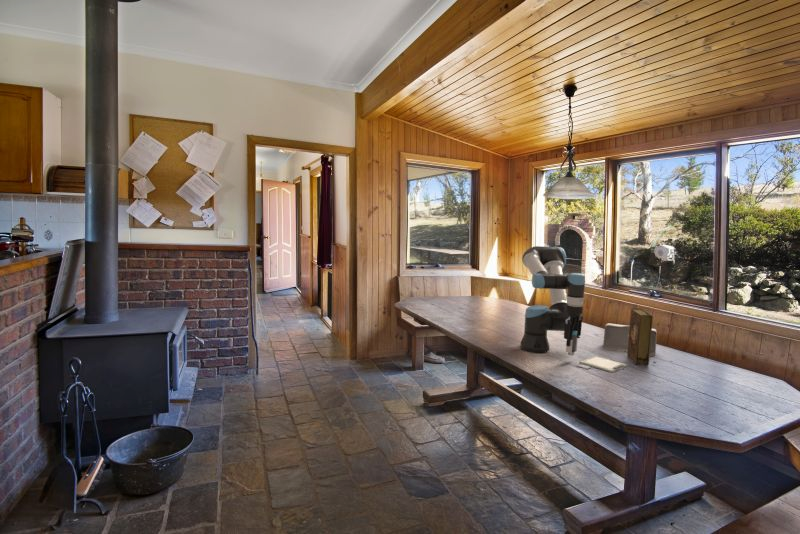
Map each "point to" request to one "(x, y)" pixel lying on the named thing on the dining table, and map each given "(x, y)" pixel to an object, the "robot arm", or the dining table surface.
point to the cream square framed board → (603, 364)
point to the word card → (583, 366)
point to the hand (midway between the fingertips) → (571, 351)
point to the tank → (623, 338)
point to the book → (639, 336)
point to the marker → (574, 338)
